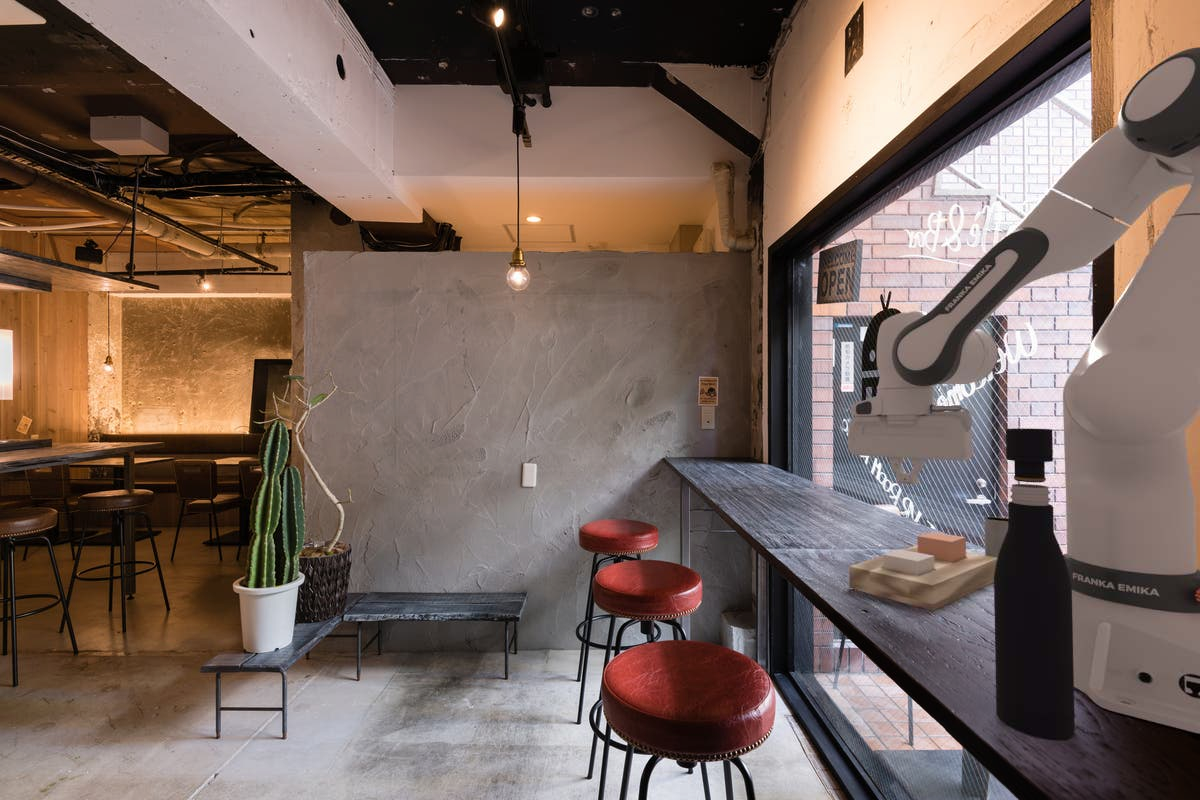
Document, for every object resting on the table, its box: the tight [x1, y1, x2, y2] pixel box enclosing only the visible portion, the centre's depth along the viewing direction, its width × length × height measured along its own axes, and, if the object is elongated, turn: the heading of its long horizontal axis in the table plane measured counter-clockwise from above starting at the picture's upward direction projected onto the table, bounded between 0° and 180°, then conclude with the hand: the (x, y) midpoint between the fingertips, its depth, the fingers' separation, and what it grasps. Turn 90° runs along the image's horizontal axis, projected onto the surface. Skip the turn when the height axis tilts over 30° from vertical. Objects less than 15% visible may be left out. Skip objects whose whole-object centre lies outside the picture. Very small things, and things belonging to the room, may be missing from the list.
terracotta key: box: [917, 531, 967, 563], centre depth 109 cm, size 6×6×4 cm
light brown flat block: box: [848, 544, 997, 611], centre depth 105 cm, size 14×27×4 cm, turn 127°
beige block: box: [882, 548, 935, 576], centre depth 101 cm, size 6×6×4 cm
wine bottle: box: [993, 427, 1076, 741], centre depth 59 cm, size 6×6×30 cm
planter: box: [984, 516, 1008, 558], centre depth 112 cm, size 4×4×10 cm
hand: (907, 483), depth 101 cm, fingers closed
